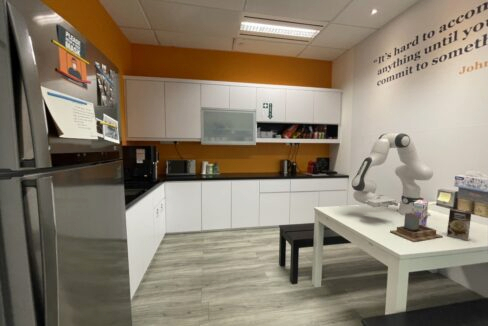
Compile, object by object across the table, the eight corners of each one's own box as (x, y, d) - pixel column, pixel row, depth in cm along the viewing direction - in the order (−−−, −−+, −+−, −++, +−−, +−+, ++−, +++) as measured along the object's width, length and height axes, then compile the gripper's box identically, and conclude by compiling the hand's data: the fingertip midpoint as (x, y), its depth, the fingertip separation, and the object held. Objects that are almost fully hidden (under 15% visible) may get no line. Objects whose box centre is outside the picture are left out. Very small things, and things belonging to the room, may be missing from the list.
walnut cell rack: (417, 228, 140) (417, 222, 140) (442, 237, 127) (443, 230, 127) (390, 232, 133) (390, 226, 133) (414, 242, 120) (414, 235, 119)
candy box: (421, 229, 140) (424, 204, 138) (410, 226, 144) (412, 202, 143) (426, 224, 149) (428, 201, 147) (416, 222, 153) (418, 199, 152)
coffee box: (446, 236, 129) (449, 209, 128) (447, 233, 134) (449, 207, 132) (468, 241, 123) (471, 213, 121) (468, 237, 127) (471, 211, 126)
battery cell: (409, 231, 132) (411, 211, 131) (418, 234, 127) (420, 213, 126) (403, 232, 130) (405, 211, 129) (412, 235, 125) (414, 214, 124)
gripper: (362, 197, 151) (380, 202, 138) (384, 194, 158) (403, 199, 145) (362, 205, 152) (380, 211, 139) (384, 203, 158) (403, 208, 145)
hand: (392, 205), depth 142 cm, fingers open, 8 cm apart
